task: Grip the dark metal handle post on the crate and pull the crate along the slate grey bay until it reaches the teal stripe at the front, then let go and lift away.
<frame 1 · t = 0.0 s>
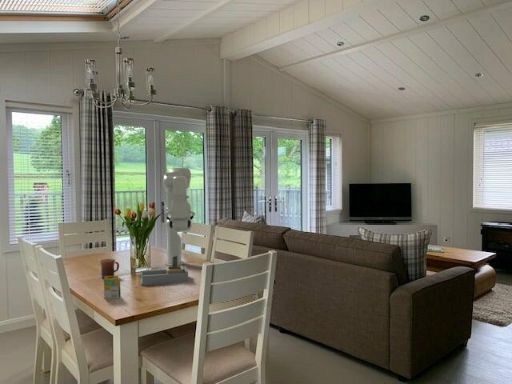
hand: (180, 227, 229), 31 cm above the table, tool pointing down, fingers open, 9 cm apart
crate: (174, 266, 233), point 8 cm above the table, slide at 14.0 cm
mug: (110, 277, 239), on the table
crayon box: (112, 298, 200), on the table
bay: (164, 280, 232), on the table
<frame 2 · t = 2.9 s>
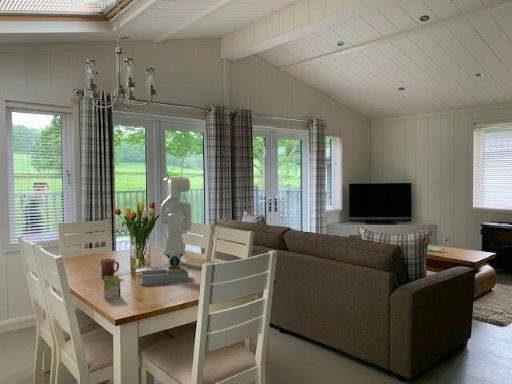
hand: (174, 265, 233), 9 cm above the table, tool pointing down, fingers closed on crate, 2 cm apart
crate: (174, 266, 233), point 8 cm above the table, slide at 14.0 cm, touching gripper
everything else where it was.
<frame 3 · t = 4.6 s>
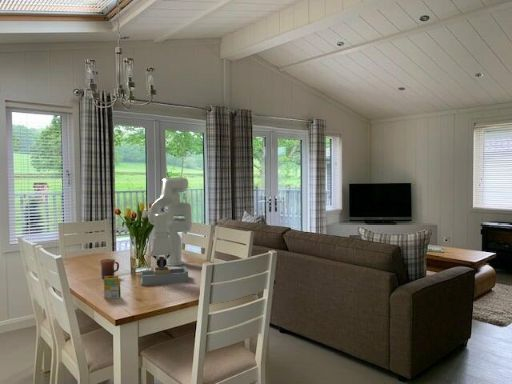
hand: (161, 266, 231), 9 cm above the table, tool pointing down, fingers closed on crate, 2 cm apart
crate: (161, 267, 231), point 8 cm above the table, slide at 6.5 cm, touching gripper
everything else where it was.
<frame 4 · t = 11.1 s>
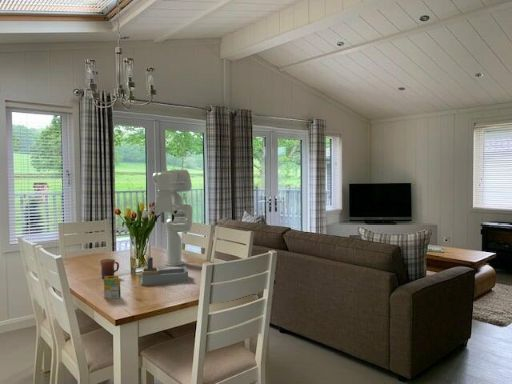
hand: (164, 221, 241), 33 cm above the table, tool pointing down, fingers open, 9 cm apart
crate: (150, 268, 229), point 8 cm above the table, slide at 0.0 cm
everything else where it was.
at the end: crate slide at 0.0 cm; crate inside the target area (0.0 cm from its centre), resting on bay; the gripper is holding nothing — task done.
